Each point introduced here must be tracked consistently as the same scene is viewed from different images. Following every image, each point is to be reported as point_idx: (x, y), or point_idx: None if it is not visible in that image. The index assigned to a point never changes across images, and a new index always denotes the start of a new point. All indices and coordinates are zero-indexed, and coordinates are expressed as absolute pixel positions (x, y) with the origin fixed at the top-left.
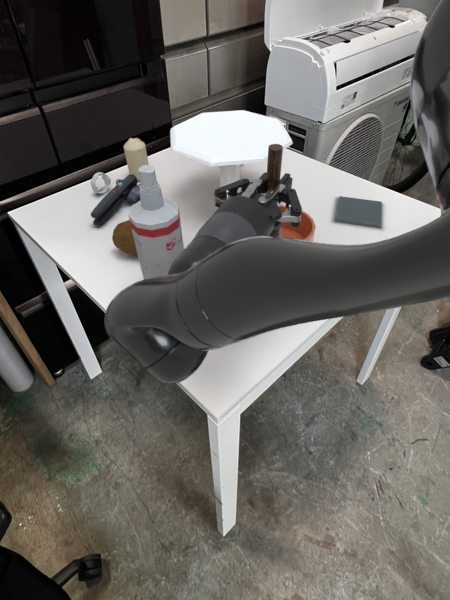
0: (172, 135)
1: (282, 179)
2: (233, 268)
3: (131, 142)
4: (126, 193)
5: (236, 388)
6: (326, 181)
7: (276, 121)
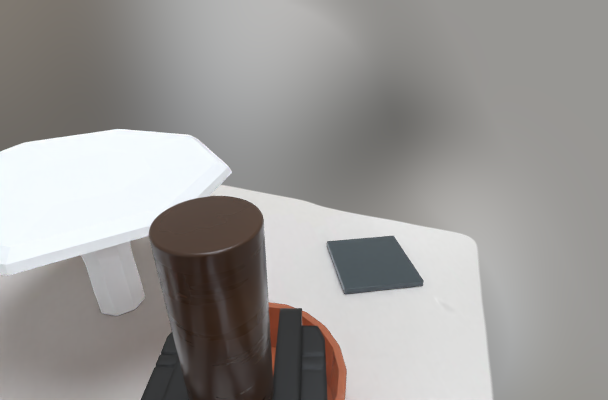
0: None
1: (284, 369)
2: None
3: None
4: None
5: None
6: (293, 219)
7: (188, 138)
